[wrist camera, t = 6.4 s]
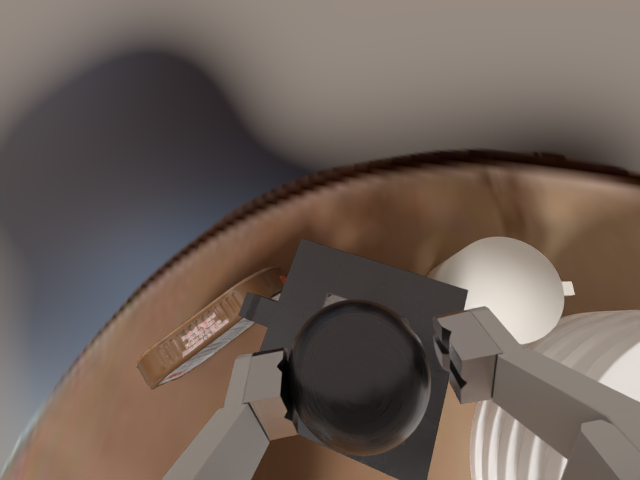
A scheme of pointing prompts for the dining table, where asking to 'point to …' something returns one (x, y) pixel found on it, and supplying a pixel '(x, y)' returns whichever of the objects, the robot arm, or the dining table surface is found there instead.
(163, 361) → the tin
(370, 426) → the plunger
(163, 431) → the dining table surface
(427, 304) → the black french press
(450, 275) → the cream mug
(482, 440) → the plate stack
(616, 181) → the dining table surface
